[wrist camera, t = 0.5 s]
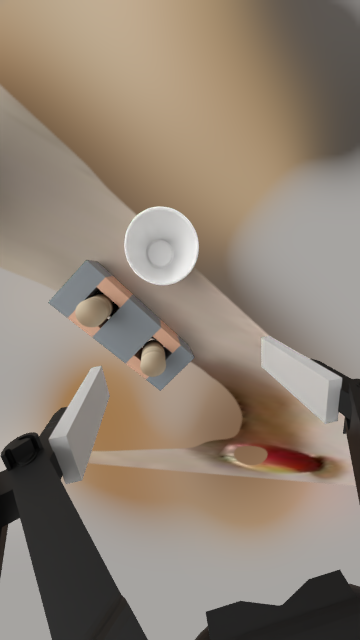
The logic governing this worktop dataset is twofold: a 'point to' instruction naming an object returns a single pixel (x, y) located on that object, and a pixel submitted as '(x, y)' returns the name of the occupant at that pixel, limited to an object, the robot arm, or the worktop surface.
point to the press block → (122, 322)
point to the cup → (161, 245)
